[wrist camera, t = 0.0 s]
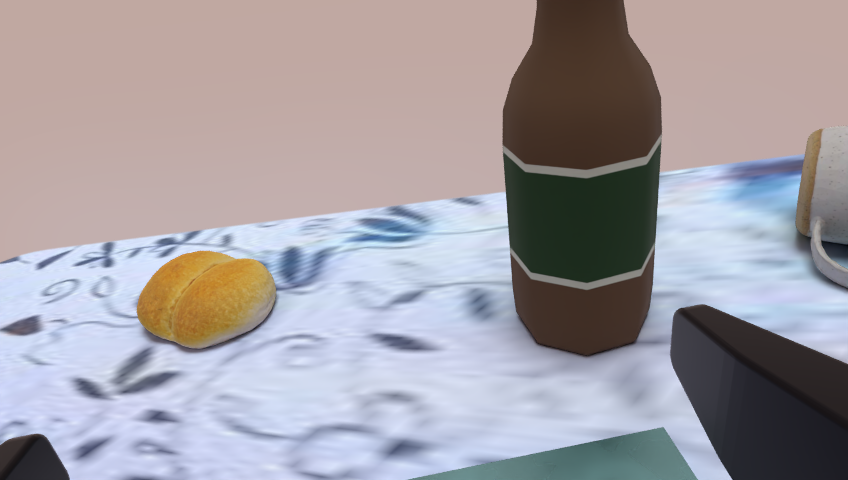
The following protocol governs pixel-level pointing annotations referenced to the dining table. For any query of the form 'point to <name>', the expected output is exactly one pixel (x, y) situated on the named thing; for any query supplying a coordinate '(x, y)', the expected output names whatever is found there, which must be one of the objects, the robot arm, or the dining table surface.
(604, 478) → the duct collar
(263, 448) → the dining table surface
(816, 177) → the beige cylinder
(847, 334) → the dining table surface
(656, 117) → the beer bottle
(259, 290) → the bread roll
